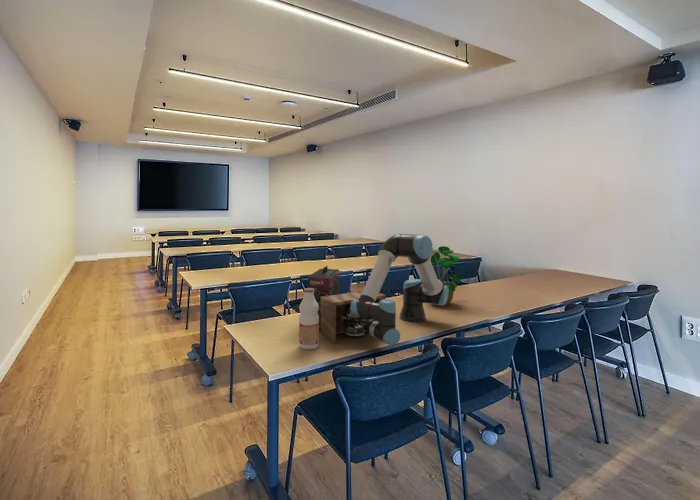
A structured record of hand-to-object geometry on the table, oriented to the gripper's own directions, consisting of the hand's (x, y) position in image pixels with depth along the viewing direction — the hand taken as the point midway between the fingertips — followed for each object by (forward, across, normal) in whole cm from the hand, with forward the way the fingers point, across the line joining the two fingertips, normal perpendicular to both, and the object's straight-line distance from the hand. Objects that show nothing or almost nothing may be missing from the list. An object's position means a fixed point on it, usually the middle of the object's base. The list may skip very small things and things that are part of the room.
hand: (350, 316), depth 202 cm
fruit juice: (-6, -27, -9) cm, 29 cm away
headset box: (+21, -5, -9) cm, 23 cm away
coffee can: (-4, 0, -8) cm, 9 cm away
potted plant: (+17, +85, -9) cm, 87 cm away
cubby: (-2, 0, -9) cm, 9 cm away
